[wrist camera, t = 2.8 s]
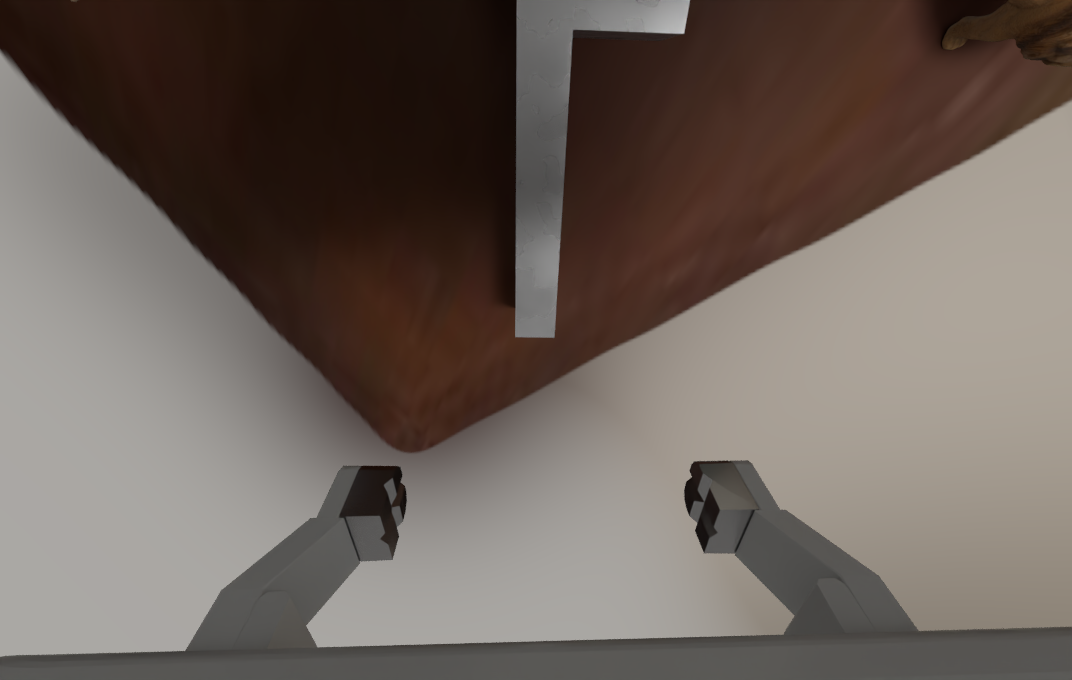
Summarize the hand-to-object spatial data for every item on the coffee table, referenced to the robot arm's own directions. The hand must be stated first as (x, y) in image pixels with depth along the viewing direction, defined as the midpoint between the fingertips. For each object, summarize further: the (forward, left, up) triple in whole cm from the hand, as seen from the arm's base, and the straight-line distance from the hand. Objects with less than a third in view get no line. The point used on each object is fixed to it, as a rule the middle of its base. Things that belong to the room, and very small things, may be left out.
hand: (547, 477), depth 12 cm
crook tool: (-3, -4, -19) cm, 20 cm away
